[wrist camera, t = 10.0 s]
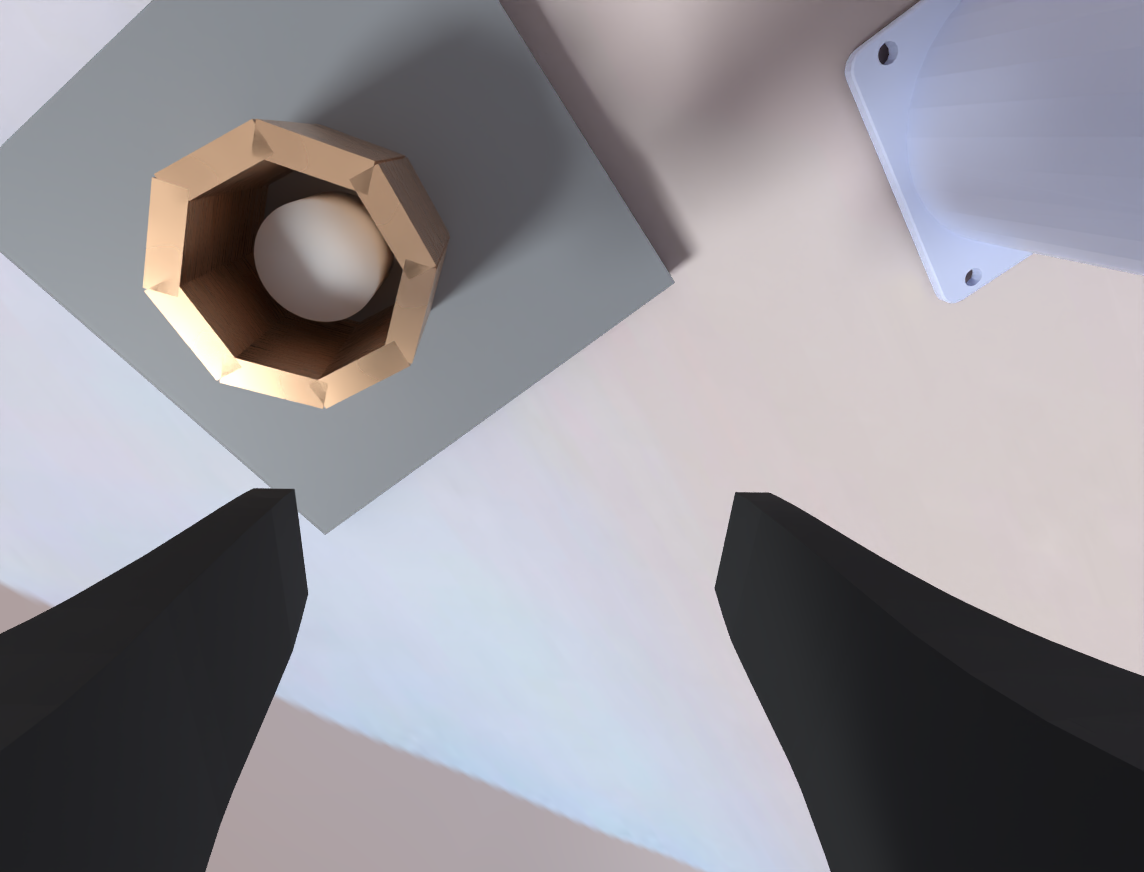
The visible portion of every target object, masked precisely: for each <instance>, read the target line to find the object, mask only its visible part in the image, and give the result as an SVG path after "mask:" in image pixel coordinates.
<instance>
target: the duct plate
mask: <svg viewBox="0 0 1144 872" xmlns="http://www.w3.org/2000/svg"><path fill="white" fill-rule="evenodd" d="M251 119H265V120H276V121H287V122H298V123H309V124H319V125H323V126H326V127H328V128H331V129H334V130H337V131H339V132H342V133H345V134H348V135H350V136H353V137H356V138H359V139H361V140H364V141H367V142H370V143H372V144H375V145H378V146H381V147H383V148H386V149H389V150H392V151H394V152H397V153H400V154H403V155H405V158H407V157H408V159H409V161H410V163H411V164H412V166H413V168H414V170H415V172H416V174H417V175H418V177H419V179H420V181H421V183H422V185H423V186H424V188H425V190H426V192H427V194H428V195H429V197H430V199H431V201H432V203H433V205H434V206H435V208H436V210H437V212H438V214H439V216H440V217H441V219H442V221H443V223H444V225H445V226H446V228H447V230H448V232H449V234H450V235H449V237H450V239H449V243H448V246H447V250H446V254H445V258H444V262H443V265H442V269H441V273H440V277H439V281H438V284H437V288H436V292H435V296H434V300H433V303H432V307H431V311H430V314H429V317H428V319H427V322H426V325H425V328H424V331H423V334H422V337H421V340H420V343H419V345H418V348H417V351H416V354H415V357H414V360H413V363H411V365H410V366H409V367H407V368H405V369H403V370H401V371H399V372H397V373H395V374H393V375H392V376H390V377H388V378H386V379H384V380H382V381H380V382H378V383H376V384H374V385H372V386H370V387H368V388H366V389H364V390H362V391H360V392H358V393H356V394H354V395H352V396H350V397H348V398H346V399H344V400H342V401H340V402H338V403H336V404H335V405H333V406H331V407H329V408H327V409H326V408H325V407H324V408H323V409H321V408H317V407H313V406H310V405H306V404H302V403H298V402H294V401H290V400H286V399H282V398H278V397H274V396H270V395H267V394H263V393H259V392H255V391H251V390H247V389H243V388H239V387H235V386H231V385H227V384H224V383H220V379H219V380H216V379H215V378H214V377H213V375H212V374H211V373H210V372H209V371H208V369H207V368H206V367H205V366H204V364H203V363H202V362H201V361H200V359H199V358H198V357H197V356H196V354H195V353H194V352H193V351H192V350H191V348H190V347H189V346H188V345H187V343H186V342H185V341H184V340H183V338H182V337H181V336H180V335H179V333H178V332H177V331H176V330H175V329H174V327H173V326H172V325H171V324H170V322H169V321H168V320H167V319H166V317H165V316H164V315H163V314H162V313H161V311H160V310H159V309H158V308H157V306H156V305H155V304H154V303H153V301H152V300H151V299H150V298H149V296H148V295H147V294H146V293H145V292H144V291H145V290H147V288H143V280H144V267H145V255H146V243H147V231H148V218H149V206H150V194H151V182H152V177H155V175H154V174H155V173H157V172H158V171H160V170H162V169H164V168H166V167H167V166H169V165H171V164H173V163H174V162H176V161H178V160H180V159H182V158H183V157H185V156H187V155H189V154H190V153H192V152H194V151H196V150H198V149H199V148H201V147H203V146H205V145H206V144H208V143H210V142H212V141H214V140H215V139H217V138H219V137H221V136H222V135H224V134H226V133H228V132H229V131H231V130H233V129H235V128H237V127H238V126H240V125H242V124H244V123H245V122H247V121H249V120H251ZM0 252H1V253H2V254H3V255H4V256H5V257H7V258H8V259H9V260H10V261H11V262H12V263H13V264H15V265H16V266H17V267H18V268H19V269H20V270H22V271H23V272H24V273H25V274H26V275H27V276H28V277H30V278H31V279H32V280H33V281H34V282H35V283H36V284H38V285H39V286H40V287H41V288H42V289H43V290H44V291H46V292H47V293H48V294H49V295H50V296H51V297H53V298H54V299H55V300H56V301H57V302H58V303H59V304H61V305H62V306H63V307H64V308H65V309H66V310H67V311H69V312H70V313H71V314H72V315H73V316H74V317H75V318H77V319H78V320H79V321H80V322H81V323H82V324H84V325H85V326H86V327H87V328H88V329H89V330H90V331H92V332H93V333H94V334H95V335H96V336H97V337H98V338H100V339H101V340H102V341H103V342H104V343H105V344H106V345H108V346H109V347H110V348H111V349H112V350H113V351H114V352H116V353H117V354H118V355H119V356H120V357H121V358H123V359H124V360H125V361H126V362H127V363H128V364H129V365H131V366H132V367H133V368H134V369H135V370H136V371H137V372H139V373H140V374H141V375H142V376H143V377H144V378H145V379H147V380H148V381H149V382H150V383H151V384H152V385H154V386H155V387H156V388H157V389H158V390H159V391H160V392H162V393H163V394H164V395H165V396H166V397H167V398H168V399H170V400H171V401H172V402H173V403H174V404H175V405H176V406H178V407H179V408H180V409H181V410H182V411H183V412H185V413H186V414H187V415H188V416H189V417H190V418H191V419H193V420H194V421H195V422H196V423H197V424H198V425H199V426H201V427H202V428H203V429H204V430H205V431H206V432H207V433H209V434H210V435H211V436H212V437H213V438H214V439H216V440H217V441H218V442H219V443H220V444H221V445H222V446H224V447H225V448H226V449H227V450H228V451H229V452H230V453H232V454H233V455H234V456H235V457H236V458H237V459H238V460H240V461H241V462H242V463H243V464H244V465H245V466H247V467H248V468H249V469H250V470H251V471H252V472H253V473H255V474H256V475H257V476H258V477H259V478H260V479H261V480H263V481H264V482H265V483H266V484H267V485H268V486H269V487H271V488H272V489H295V495H296V503H297V511H298V512H299V513H300V514H302V515H303V516H304V517H305V518H306V519H307V520H309V521H310V522H311V523H312V524H313V525H314V526H315V527H317V528H318V529H319V530H320V531H321V532H322V533H323V534H325V535H326V534H327V533H329V532H330V531H331V530H333V529H334V528H335V527H337V526H338V525H340V524H341V523H342V522H344V521H345V520H347V519H348V518H349V517H351V516H352V515H353V514H355V513H356V512H358V511H359V510H360V509H362V508H363V507H365V506H366V505H367V504H369V503H370V502H371V501H373V500H374V499H376V498H377V497H378V496H380V495H381V494H383V493H384V492H385V491H387V490H388V489H390V488H391V487H392V486H394V485H395V484H396V483H398V482H399V481H401V480H402V479H403V478H405V477H406V476H408V475H409V474H410V473H412V472H413V471H414V470H416V469H417V468H419V467H420V466H421V465H423V464H424V463H426V462H427V461H428V460H430V459H431V458H432V457H434V456H435V455H437V454H438V453H439V452H441V451H442V450H444V449H445V448H446V447H448V446H449V445H450V444H452V443H453V442H455V441H456V440H457V439H459V438H460V437H462V436H463V435H464V434H466V433H467V432H469V431H470V430H471V429H473V428H474V427H475V426H477V425H478V424H480V423H481V422H482V421H484V420H485V419H487V418H488V417H489V416H491V415H492V414H493V413H495V412H496V411H498V410H499V409H500V408H502V407H503V406H505V405H506V404H507V403H509V402H510V401H511V400H513V399H514V398H516V397H517V396H518V395H520V394H521V393H523V392H524V391H525V390H527V389H528V388H530V387H531V386H532V385H534V384H535V383H536V382H538V381H539V380H541V379H542V378H543V377H545V376H546V375H548V374H549V373H550V372H552V371H553V370H554V369H556V368H557V367H559V366H560V365H561V364H563V363H564V362H566V361H567V360H568V359H570V358H571V357H572V356H574V355H575V354H577V353H578V352H579V351H581V350H582V349H584V348H585V347H586V346H588V345H589V344H590V343H592V342H593V341H595V340H596V339H597V338H599V337H600V336H602V335H603V334H604V333H606V332H607V331H609V330H610V329H611V328H613V327H614V326H615V325H617V324H618V323H620V322H621V321H622V320H624V319H625V318H627V317H628V316H629V315H631V314H632V313H633V312H635V311H636V310H638V309H639V308H640V307H642V306H643V305H645V304H646V303H647V302H649V301H650V300H651V299H653V298H654V297H656V296H657V295H658V294H660V293H661V292H663V291H664V290H665V289H667V288H668V287H669V286H671V285H672V284H674V283H675V282H674V280H673V278H672V277H671V275H670V274H669V272H668V270H667V269H666V267H665V266H664V264H663V262H662V261H661V259H660V258H659V256H658V254H657V253H656V251H655V250H654V248H653V246H652V245H651V243H650V242H649V240H648V239H647V237H646V235H645V234H644V232H643V231H642V229H641V227H640V226H639V224H638V223H637V221H636V219H635V218H634V216H633V215H632V213H631V211H630V210H629V208H628V207H627V205H626V203H625V202H624V200H623V199H622V197H621V195H620V194H619V192H618V191H617V189H616V187H615V186H614V184H613V183H612V181H611V179H610V178H609V176H608V175H607V173H606V171H605V170H604V168H603V167H602V165H601V163H600V162H599V160H598V159H597V157H596V155H595V154H594V152H593V151H592V149H591V147H590V146H589V144H588V143H587V141H586V139H585V138H584V136H583V135H582V133H581V131H580V130H579V128H578V127H577V125H576V123H575V122H574V120H573V119H572V117H571V115H570V114H569V112H568V111H567V109H566V107H565V106H564V104H563V103H562V101H561V99H560V98H559V96H558V95H557V93H556V92H555V90H554V88H553V87H552V85H551V84H550V82H549V80H548V79H547V77H546V76H545V74H544V72H543V71H542V69H541V68H540V66H539V64H538V63H537V61H536V60H535V58H534V56H533V55H532V53H531V52H530V50H529V48H528V47H527V45H526V44H525V42H524V40H523V39H522V37H521V36H520V34H519V32H518V31H517V29H516V28H515V26H514V24H513V23H512V21H511V20H510V18H509V16H508V15H507V13H506V12H505V10H504V8H503V7H502V5H501V4H500V2H499V0H152V1H151V2H150V3H149V4H148V5H147V6H146V7H145V8H144V9H143V10H142V11H141V12H140V13H139V14H138V15H137V16H136V17H135V18H134V19H133V20H132V21H130V22H129V23H128V24H127V25H126V26H125V27H124V28H123V29H122V30H121V31H120V32H119V33H118V34H117V35H116V36H115V37H114V38H113V39H112V40H111V41H110V42H109V43H108V44H107V45H106V46H105V47H103V48H102V49H101V50H100V51H99V52H98V53H97V54H96V55H95V56H94V57H93V58H92V59H91V60H90V61H89V62H88V63H87V64H86V65H85V66H84V67H83V68H82V69H81V70H80V71H79V72H78V73H77V74H75V75H74V76H73V77H72V78H71V79H70V80H69V81H68V82H67V83H66V84H65V85H64V86H63V87H62V88H61V89H60V90H59V91H58V92H57V93H56V94H55V95H54V96H53V97H52V98H51V99H50V100H48V101H47V102H46V103H45V104H44V105H43V106H42V107H41V108H40V109H39V110H38V111H37V112H36V113H35V114H34V115H33V116H32V117H31V118H30V119H29V120H28V121H27V122H26V123H25V124H24V125H23V126H21V127H20V128H19V129H18V130H17V131H16V132H15V133H14V134H13V135H12V136H11V137H10V138H9V139H8V140H7V141H6V142H5V143H4V144H3V145H2V146H1V147H0ZM254 259H255V265H256V269H257V272H258V275H259V278H260V280H261V282H262V283H263V285H264V287H265V288H266V290H267V291H268V293H269V294H270V295H271V296H272V297H273V298H274V299H275V300H276V301H277V302H278V303H279V304H280V305H281V306H283V307H284V308H285V309H287V310H288V311H290V312H292V313H293V314H295V315H298V316H300V317H302V318H305V319H309V320H313V321H321V322H331V321H338V320H342V319H345V318H347V319H350V320H353V321H357V322H361V321H363V320H364V319H366V318H368V317H370V316H372V315H374V314H376V313H378V312H380V311H382V310H384V309H386V308H388V307H389V306H391V305H393V304H395V302H396V297H397V293H398V289H399V285H400V281H401V276H402V272H403V269H402V267H401V266H400V264H399V262H398V261H397V259H396V257H395V256H394V254H393V252H392V251H391V249H390V247H389V246H388V244H387V242H386V241H385V239H384V237H383V236H382V234H381V232H380V231H379V229H378V227H377V226H376V224H375V222H374V221H373V219H372V217H371V216H370V214H369V212H368V211H367V209H366V207H365V206H364V204H363V202H362V201H361V199H360V197H359V196H358V194H357V192H356V191H354V190H352V189H349V188H346V187H343V186H340V185H337V184H334V183H331V182H328V181H325V180H322V179H319V178H316V177H314V176H311V175H308V174H305V173H302V172H299V171H296V170H295V171H294V172H292V173H290V174H288V175H286V176H284V177H283V178H281V179H279V180H277V181H275V182H274V183H272V184H270V185H269V187H268V194H267V201H266V207H265V214H264V221H263V223H262V224H261V226H260V228H259V230H258V233H257V236H256V239H255V244H254Z"/></svg>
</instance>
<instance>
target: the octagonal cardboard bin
mask: <svg viewBox="0 0 1144 872" xmlns="http://www.w3.org/2000/svg"><path fill="white" fill-rule="evenodd" d="M295 170H296V171H299V172H302V173H305V174H308V175H311V176H314V177H316V178H319V179H322V180H325V181H328V182H331V183H334V184H337V185H340V186H343V187H346V188H349V189H352V190H354V191H356V192H357V194H358V196H359V197H360V199H361V201H362V202H363V204H364V206H365V207H366V209H367V211H368V212H369V214H370V216H371V217H372V219H373V221H374V222H375V224H376V226H377V227H378V229H379V231H380V232H381V234H382V236H383V237H384V239H385V241H386V242H387V244H388V246H389V247H390V249H391V251H392V252H393V254H394V256H395V257H396V259H397V261H398V262H399V264H400V266H401V267H402V269H403V272H402V276H401V281H400V285H399V289H398V293H397V297H396V302H395V304H393V305H391V306H389V307H388V308H386V309H384V310H382V311H380V312H378V313H376V314H374V315H372V316H370V317H368V318H366V319H364V320H363V321H361V322H357V321H353V320H350V319H347V318H345V319H342V320H338V321H331V322H321V321H313V320H309V319H305V318H302V317H300V316H298V315H295V314H293V313H292V312H290V311H288V310H287V309H285V308H284V307H283V306H281V305H280V304H279V303H278V302H277V301H276V300H275V299H274V298H273V297H272V296H271V295H270V294H269V293H268V291H267V290H266V288H265V287H264V285H263V283H262V282H261V280H260V278H259V275H258V272H257V269H256V265H255V259H254V244H255V239H256V236H257V233H258V230H259V228H260V226H261V224H262V223H263V221H264V214H265V207H266V201H267V194H268V187H269V185H270V184H272V183H274V182H275V181H277V180H279V179H281V178H283V177H284V176H286V175H288V174H290V173H292V172H294V171H295ZM154 175H155V177H152V182H151V194H150V206H149V218H148V231H147V243H146V255H145V267H144V280H143V288H147V290H145V291H144V292H145V293H146V294H147V295H148V296H149V298H150V299H151V300H152V301H153V303H154V304H155V305H156V306H157V308H158V309H159V310H160V311H161V313H162V314H163V315H164V316H165V317H166V319H167V320H168V321H169V322H170V324H171V325H172V326H173V327H174V329H175V330H176V331H177V332H178V333H179V335H180V336H181V337H182V338H183V340H184V341H185V342H186V343H187V345H188V346H189V347H190V348H191V350H192V351H193V352H194V353H195V354H196V356H197V357H198V358H199V359H200V361H201V362H202V363H203V364H204V366H205V367H206V368H207V369H208V371H209V372H210V373H211V374H212V375H213V377H214V378H215V379H216V380H219V379H220V383H224V384H227V385H231V386H235V387H239V388H243V389H247V390H251V391H255V392H259V393H263V394H267V395H270V396H274V397H278V398H282V399H286V400H290V401H294V402H298V403H302V404H306V405H310V406H313V407H317V408H321V409H323V408H324V407H325V408H326V409H327V408H329V407H331V406H333V405H335V404H336V403H338V402H340V401H342V400H344V399H346V398H348V397H350V396H352V395H354V394H356V393H358V392H360V391H362V390H364V389H366V388H368V387H370V386H372V385H374V384H376V383H378V382H380V381H382V380H384V379H386V378H388V377H390V376H392V375H393V374H395V373H397V372H399V371H401V370H403V369H405V368H407V367H409V366H410V365H411V363H413V360H414V357H415V354H416V351H417V348H418V345H419V343H420V340H421V337H422V334H423V331H424V328H425V325H426V322H427V319H428V317H429V314H430V311H431V307H432V303H433V300H434V296H435V292H436V288H437V284H438V281H439V277H440V273H441V269H442V265H443V262H444V258H445V254H446V250H447V246H448V243H449V239H450V237H449V235H450V234H449V232H448V230H447V228H446V226H445V225H444V223H443V221H442V219H441V217H440V216H439V214H438V212H437V210H436V208H435V206H434V205H433V203H432V201H431V199H430V197H429V195H428V194H427V192H426V190H425V188H424V186H423V185H422V183H421V181H420V179H419V177H418V175H417V174H416V172H415V170H414V168H413V166H412V164H411V163H410V161H409V159H408V157H407V158H405V155H403V154H400V153H397V152H394V151H392V150H389V149H386V148H383V147H381V146H378V145H375V144H372V143H370V142H367V141H364V140H361V139H359V138H356V137H353V136H350V135H348V134H345V133H342V132H339V131H337V130H334V129H331V128H328V127H326V126H323V125H319V124H309V123H298V122H287V121H276V120H265V119H251V120H249V121H247V122H245V123H244V124H242V125H240V126H238V127H237V128H235V129H233V130H231V131H229V132H228V133H226V134H224V135H222V136H221V137H219V138H217V139H215V140H214V141H212V142H210V143H208V144H206V145H205V146H203V147H201V148H199V149H198V150H196V151H194V152H192V153H190V154H189V155H187V156H185V157H183V158H182V159H180V160H178V161H176V162H174V163H173V164H171V165H169V166H167V167H166V168H164V169H162V170H160V171H158V172H157V173H155V174H154Z"/></svg>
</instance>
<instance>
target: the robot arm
mask: <svg viewBox="0 0 1144 872" xmlns="http://www.w3.org/2000/svg"><path fill="white" fill-rule="evenodd" d="M883 44H886V46H887V47H888V48H889V56H888V59H887V61H886V62H885V63H884V65H883V64H881V63H880V61H879V59H878V52H879V49H880V47H881V46H882V45H883ZM845 76H846V81H847V83H848V85H849V88H850V90H851V93H852V95H853V97H854V100H855V102H856V105H857V107H858V109H859V112H860V114H861V117H862V119H863V121H864V124H865V126H866V129H867V131H868V133H869V136H870V138H871V141H872V143H873V145H874V148H875V150H876V153H877V155H878V157H879V160H880V162H881V164H882V167H883V169H884V172H885V174H886V176H887V179H888V181H889V184H890V186H891V188H892V191H893V193H894V196H895V198H896V200H897V203H898V205H899V208H900V210H901V212H902V215H903V217H904V220H905V222H906V224H907V227H908V229H909V232H910V234H911V236H912V239H913V241H914V244H915V246H916V248H917V251H918V253H919V256H920V258H921V260H922V263H923V265H924V268H925V270H926V272H927V275H928V277H929V280H930V282H931V284H932V287H933V289H934V292H935V294H936V296H937V297H938V298H939V299H941V300H943V301H945V302H948V303H957V302H959V301H961V300H963V299H965V298H966V297H968V296H969V295H971V294H972V293H974V292H975V291H977V290H978V289H980V288H981V287H983V286H985V285H986V284H988V283H989V282H991V281H992V280H994V279H995V278H997V277H998V276H1000V275H1001V274H1003V273H1004V272H1006V271H1007V270H1009V269H1010V268H1012V267H1013V266H1015V265H1016V264H1018V263H1020V262H1021V261H1023V260H1024V259H1026V258H1027V257H1029V256H1030V255H1032V254H1033V253H1036V254H1041V255H1046V256H1051V257H1056V258H1060V259H1065V260H1070V261H1075V262H1080V263H1084V264H1089V265H1094V266H1099V267H1104V268H1109V269H1113V270H1118V271H1123V272H1128V273H1133V274H1138V275H1142V276H1144V0H920V1H919V2H918V3H916V4H915V5H914V6H912V7H911V8H910V9H908V10H907V11H906V12H904V13H903V14H902V15H900V16H899V17H898V18H896V19H895V20H894V21H892V22H891V23H890V24H888V25H887V26H886V27H884V28H883V29H882V30H880V31H879V32H878V33H877V34H875V35H874V36H873V37H871V38H870V39H869V40H867V41H866V42H865V43H863V44H862V45H861V46H859V47H858V48H857V49H855V50H854V52H853V53H852V54H851V55H850V56H849V58H848V60H847V62H846V67H845ZM971 269H972V271H973V274H972V276H971V278H970V279H969V280H968V281H967V282H965V277H966V274H967V273H968V272H969V271H970V270H971ZM715 591H716V595H717V598H718V601H719V605H720V608H721V611H722V615H723V618H724V621H725V624H726V627H727V630H728V633H729V636H730V639H731V641H732V643H733V646H734V648H735V650H736V652H737V654H738V656H739V659H740V661H741V663H742V665H743V667H744V669H745V671H746V673H747V676H748V678H749V680H750V682H751V684H752V686H753V688H754V690H755V692H756V694H757V696H758V698H759V700H760V703H761V705H762V707H763V709H764V711H765V713H766V715H767V717H768V719H769V721H770V723H771V725H772V727H773V729H774V731H775V734H776V736H777V738H778V740H779V742H780V744H781V746H782V748H783V750H784V752H785V754H786V756H787V758H788V760H789V763H790V765H791V767H792V770H793V772H794V774H795V777H796V779H797V781H798V784H799V786H800V788H801V791H802V793H803V796H804V799H805V801H806V804H807V807H808V810H809V812H810V815H811V818H812V821H813V823H814V826H815V829H816V832H817V834H818V837H819V840H820V842H821V845H822V848H823V851H824V853H825V856H826V859H827V862H828V865H829V868H830V871H831V872H1144V676H1142V675H1139V674H1136V673H1133V672H1130V671H1128V670H1125V669H1122V668H1119V667H1116V666H1114V665H1111V664H1108V663H1106V662H1103V661H1101V660H1098V659H1096V658H1093V657H1091V656H1088V655H1085V654H1083V653H1080V652H1078V651H1075V650H1073V649H1070V648H1068V647H1065V646H1063V645H1060V644H1057V643H1055V642H1052V641H1050V640H1048V639H1045V638H1043V637H1040V636H1038V635H1036V634H1033V633H1031V632H1029V631H1026V630H1024V629H1022V628H1019V627H1017V626H1015V625H1013V624H1011V623H1008V622H1006V621H1004V620H1002V619H1000V618H998V617H995V616H993V615H991V614H989V613H987V612H985V611H983V610H980V609H978V608H976V607H974V606H972V605H970V604H968V603H965V602H963V601H961V600H959V599H957V598H955V597H953V596H951V595H949V594H947V593H946V592H944V591H942V590H940V589H938V588H936V587H934V586H932V585H931V584H929V583H927V582H925V581H923V580H921V579H919V578H918V577H916V576H914V575H912V574H910V573H908V572H906V571H905V570H903V569H901V568H899V567H897V566H896V565H894V564H892V563H890V562H889V561H887V560H885V559H883V558H882V557H880V556H878V555H877V554H875V553H873V552H871V551H870V550H868V549H866V548H865V547H863V546H861V545H860V544H858V543H856V542H855V541H853V540H851V539H850V538H848V537H846V536H845V535H843V534H841V533H840V532H838V531H836V530H835V529H833V528H831V527H830V526H828V525H826V524H825V523H823V522H822V521H820V520H818V519H817V518H815V517H813V516H812V515H810V514H808V513H807V512H805V511H803V510H801V509H800V508H798V507H796V506H794V505H793V504H791V503H789V502H787V501H785V500H783V499H781V498H780V497H777V496H775V495H773V494H771V493H750V492H735V496H734V501H733V505H732V510H731V515H730V519H729V524H728V529H727V533H726V538H725V542H724V547H723V552H722V556H721V561H720V566H719V570H718V575H717V580H716V584H715ZM307 596H308V588H307V581H306V573H305V565H304V557H303V549H302V542H301V534H300V526H299V518H298V511H297V503H296V495H295V489H264V488H253V489H252V490H250V491H248V492H246V493H244V494H242V495H240V496H239V497H237V498H235V499H234V500H232V501H230V502H229V503H227V504H225V505H224V506H222V507H221V508H219V509H217V510H216V511H214V512H213V513H211V514H210V515H208V516H206V517H205V518H203V519H202V520H200V521H199V522H197V523H195V524H194V525H192V526H191V527H189V528H187V529H186V530H184V531H183V532H181V533H180V534H178V535H176V536H175V537H173V538H172V539H170V540H168V541H167V542H165V543H164V544H162V545H160V546H159V547H157V548H156V549H154V550H152V551H151V552H149V553H148V554H146V555H144V556H143V557H141V558H139V559H138V560H136V561H134V562H132V563H131V564H129V565H127V566H125V567H124V568H122V569H120V570H118V571H117V572H115V573H113V574H112V575H110V576H108V577H106V578H105V579H103V580H101V581H99V582H98V583H96V584H94V585H92V586H91V587H89V588H87V589H86V590H84V591H82V592H80V593H79V594H77V595H75V596H73V597H72V598H70V599H68V600H66V601H64V602H62V603H60V604H59V605H57V606H55V607H53V608H51V609H49V610H47V611H46V612H43V613H41V614H39V615H37V616H36V617H34V618H32V619H30V620H28V621H26V622H24V623H22V624H20V625H18V626H16V627H13V628H11V629H9V630H7V631H5V632H3V633H1V634H0V872H205V871H206V868H207V864H208V861H209V857H210V855H211V852H212V849H213V846H214V842H215V839H216V836H217V833H218V830H219V827H220V824H221V821H222V819H223V816H224V813H225V810H226V808H227V805H228V803H229V800H230V798H231V795H232V792H233V790H234V788H235V785H236V783H237V780H238V778H239V776H240V774H241V771H242V769H243V767H244V764H245V762H246V760H247V757H248V755H249V753H250V750H251V748H252V746H253V743H254V741H255V739H256V736H257V734H258V732H259V729H260V727H261V725H262V722H263V720H264V718H265V715H266V713H267V711H268V708H269V706H270V704H271V701H272V699H273V697H274V694H275V692H276V690H277V687H278V685H279V683H280V680H281V678H282V675H283V673H284V671H285V668H286V666H287V663H288V661H289V659H290V656H291V654H292V651H293V648H294V644H295V641H296V637H297V634H298V630H299V627H300V623H301V620H302V616H303V612H304V608H305V604H306V600H307Z"/></svg>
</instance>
